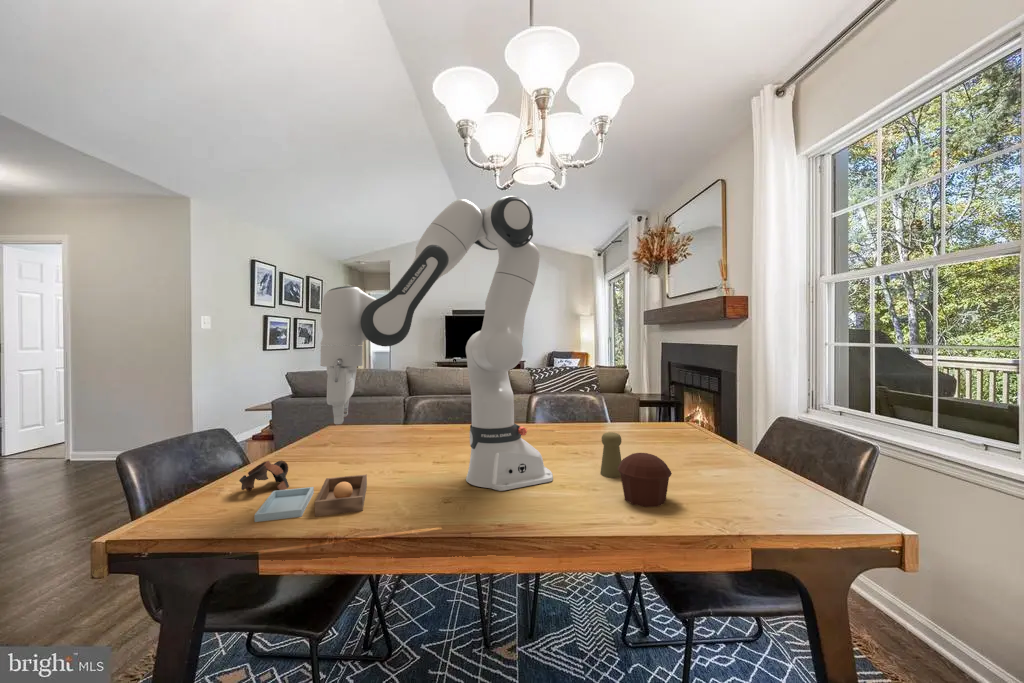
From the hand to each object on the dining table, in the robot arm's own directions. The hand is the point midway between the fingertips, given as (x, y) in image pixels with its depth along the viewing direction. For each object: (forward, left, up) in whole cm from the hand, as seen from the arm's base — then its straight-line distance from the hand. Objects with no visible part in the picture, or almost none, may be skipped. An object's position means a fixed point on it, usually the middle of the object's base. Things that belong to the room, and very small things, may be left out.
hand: (341, 419), depth 95 cm
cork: (-67, +1, -19) cm, 70 cm away
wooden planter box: (0, 0, -19) cm, 19 cm away
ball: (0, 0, -18) cm, 18 cm away
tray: (+11, 0, -19) cm, 22 cm away
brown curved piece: (+18, -14, -19) cm, 30 cm away
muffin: (-65, +19, -19) cm, 71 cm away
